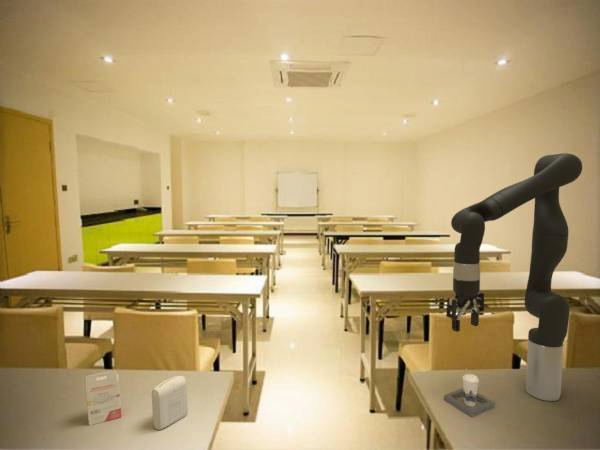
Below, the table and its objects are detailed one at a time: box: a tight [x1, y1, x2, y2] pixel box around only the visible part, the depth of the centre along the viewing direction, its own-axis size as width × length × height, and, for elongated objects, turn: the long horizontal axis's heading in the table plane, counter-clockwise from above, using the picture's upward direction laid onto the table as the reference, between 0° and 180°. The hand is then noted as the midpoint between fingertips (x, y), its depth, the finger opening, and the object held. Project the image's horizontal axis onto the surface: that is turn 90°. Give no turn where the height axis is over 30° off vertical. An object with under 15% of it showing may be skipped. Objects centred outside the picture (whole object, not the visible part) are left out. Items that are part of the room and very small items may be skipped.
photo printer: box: [151, 375, 189, 431], centre depth 109 cm, size 10×4×12 cm, turn 144°
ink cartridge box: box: [84, 369, 122, 426], centre depth 110 cm, size 9×5×15 cm, turn 115°
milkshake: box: [462, 367, 480, 408], centre depth 115 cm, size 4×5×10 cm
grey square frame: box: [443, 387, 495, 418], centre depth 115 cm, size 10×10×2 cm
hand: (465, 328), depth 116 cm, fingers open, 8 cm apart
